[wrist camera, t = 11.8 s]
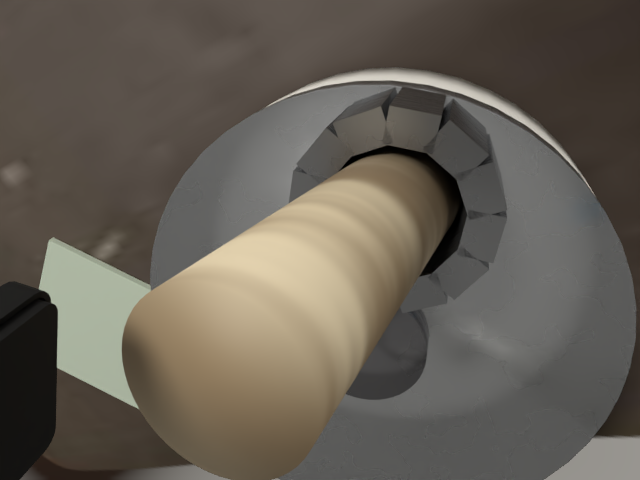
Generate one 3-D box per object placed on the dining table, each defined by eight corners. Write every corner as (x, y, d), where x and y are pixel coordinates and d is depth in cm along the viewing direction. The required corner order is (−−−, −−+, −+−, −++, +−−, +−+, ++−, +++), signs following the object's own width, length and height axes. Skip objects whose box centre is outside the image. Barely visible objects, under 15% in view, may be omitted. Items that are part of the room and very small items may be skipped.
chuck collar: (538, 539, 30) (552, 647, 25) (158, 425, 33) (103, 502, 28) (716, 139, 21) (791, 185, 16) (175, 36, 24) (99, 48, 19)
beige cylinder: (370, 125, 22) (120, 252, 10) (475, 147, 21) (334, 323, 9) (354, 222, 24) (122, 433, 12) (451, 249, 23) (304, 514, 10)
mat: (187, 303, 35) (184, 307, 34) (150, 409, 39) (146, 413, 38) (53, 237, 35) (49, 240, 35) (29, 348, 39) (25, 351, 39)
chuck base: (705, 189, 26) (742, 221, 22) (471, 490, 35) (472, 546, 31) (276, -10, 27) (247, -10, 23) (159, 334, 36) (125, 372, 32)
